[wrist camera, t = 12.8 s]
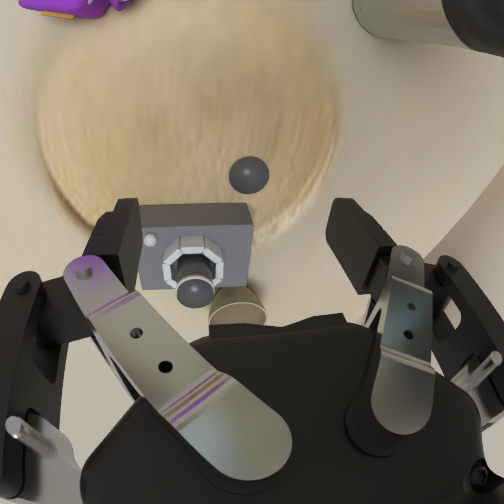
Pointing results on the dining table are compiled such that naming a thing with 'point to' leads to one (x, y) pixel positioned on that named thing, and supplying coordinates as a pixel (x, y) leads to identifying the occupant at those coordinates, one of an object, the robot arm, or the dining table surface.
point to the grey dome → (248, 175)
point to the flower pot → (237, 307)
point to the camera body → (195, 242)
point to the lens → (194, 280)
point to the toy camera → (73, 7)
